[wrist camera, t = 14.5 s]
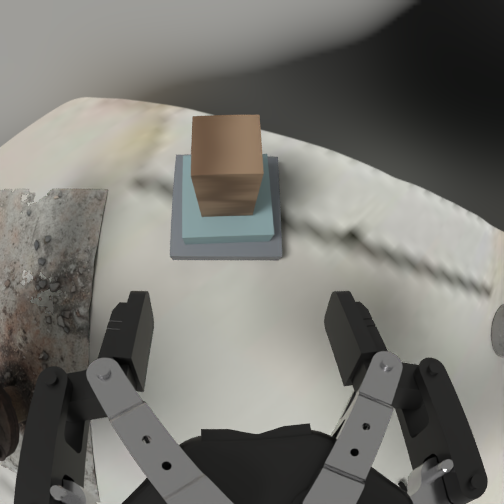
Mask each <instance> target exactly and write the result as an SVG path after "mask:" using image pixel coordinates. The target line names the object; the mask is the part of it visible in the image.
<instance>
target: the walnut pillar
mask: <svg viewBox="0 0 504 504" xmlns="http://www.w3.org/2000/svg"><path fill="white" fill-rule="evenodd" d="M263 174H264V171H263V157H262V143H261V130H260V118H259V115H214V116H193V121H192V146H191V179H192V183H193V186H194V190H195V194H196V198H197V201H198V205H199V209H200V212H201V216H202V217H215V216H247V215H253V212H254V208H255V204H256V200H257V197H258V193H259V189H260V185H261V182H262V178H263Z"/></svg>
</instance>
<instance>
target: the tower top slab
mask: <svg viewBox="0 0 504 504" xmlns="http://www.w3.org/2000/svg"><path fill="white" fill-rule="evenodd" d="M262 157H263V171H264V174H263V178H262V182H261V185H260V189H259V193H258V197H257V200H256V204H255V208H254V212H253V215H247V216H215V217H202V216H201V212H200V209H199V205H198V201H197V198H196V194H195V190H194V186H193V183H192V179H191V155H187V156H183V180H182V238H183V240H184V243H185V245H186V244H211V243H237V242H265V241H270V240H271V238H272V237H273V235H274V226H273V214H272V202H271V191H270V180H269V169H268V158H267V154H262Z"/></svg>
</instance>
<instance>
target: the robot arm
mask: <svg viewBox="0 0 504 504" xmlns="http://www.w3.org/2000/svg"><path fill="white" fill-rule="evenodd" d="M324 324H325V329H326V332H327V335H328V338H329V341H330V344H331V347H332V350H333V353H334V357H335V360H336V363H337V366H338V369H339V372H340V375H341V378H342V381H343V385H344V386H349V385H353V388H354V391H353V393H352V395H351V397H350V399H349V401H348V403H347V405H346V407H345V409H344V411H343V413H342V415H341V417H340V419H339V421H338V423H337V425H336V427H335V429H334V430H333V432H332V434H331V435H327V434H325V433H322V432H319V431H315V430H311V428H310V423H309V424H301V425H291V426H283V427H280V428H277V429H274V430H271V431H267V432H264V433H261V434H251V433H246V432H240V431H235V430H230V429H201V436H198V437H194V438H191V439H189V440H187V441H185V442H183V443H181V444H180V445H178V444H177V443H176V441H175V440H174V439H173V438H172V436H171V435H170V434H169V433H168V431H167V430H166V429H165V427H164V426H163V425H162V423H161V422H160V421H159V419H158V418H157V417H156V415H155V414H154V413H153V411H152V410H151V409H150V407H149V406H148V405H147V403H146V402H145V401H143V400H142V399H141V398H140V396H139V395H138V393H137V392H136V391H141V392H144V386H145V379H146V372H147V366H148V359H149V353H150V347H151V341H152V335H153V329H154V318H153V313H152V307H151V302H150V297H149V293H148V291H131V292H130V295H129V298H128V301H127V303H121V302H120V303H119V304H118V305H117V306H116V307H115V308H114V309H113V311H112V314H111V317H110V322H109V323H108V326H107V330H106V333H105V336H104V340H103V343H102V346H101V350H100V353H99V357H98V359H97V360H95V361H93V362H92V363H91V364H90V365H89V367H88V368H87V369H86V370H83V371H78V372H72V373H67V374H66V372H65V371H64V370H63V369H62V368H60V367H57V366H51V367H48V368H46V369H44V370H43V371H42V372H41V373H40V374H39V376H38V378H37V382H36V385H35V389H34V393H33V397H32V400H31V404H30V408H29V413H28V417H27V421H26V426H25V430H24V435H23V440H22V446H21V451H20V457H19V464H18V471H17V478H16V486H15V496H14V504H97V503H96V500H95V498H94V496H93V495H92V494H91V493H90V492H89V491H87V490H86V489H84V476H85V462H86V451H87V441H88V433H89V425H90V420H92V419H98V418H103V417H108V418H109V420H110V422H111V424H112V426H113V427H114V429H115V431H116V432H117V434H118V435H119V437H120V439H121V440H122V442H123V443H124V445H125V446H126V448H127V449H128V451H129V452H130V454H131V455H132V457H133V458H134V460H135V461H136V463H137V464H138V465H139V467H140V468H141V470H142V471H143V472H144V474H145V475H146V476H147V478H146V479H145V480H144V481H143V483H142V484H141V485H140V486H139V487H138V488H137V489H136V490H135V491H134V492H133V493H132V494H131V495H130V496H129V497H128V498H127V499H126V500H125V501H124V502H123V503H122V504H466V503H468V502H470V501H472V500H475V499H477V498H479V497H480V496H481V495H482V494H483V493H484V492H485V490H486V488H487V475H486V472H485V469H484V466H483V463H482V460H481V457H480V454H479V451H478V448H477V445H476V442H475V439H474V437H473V434H472V431H471V429H470V426H469V423H468V421H467V418H466V416H465V413H464V411H463V408H462V406H461V403H460V401H459V399H458V396H457V394H456V392H455V389H454V387H453V385H452V382H451V380H450V378H449V376H448V374H447V371H446V369H445V367H444V366H443V364H442V363H441V362H440V361H438V360H437V359H434V358H425V359H423V360H422V361H421V362H420V364H419V365H415V364H408V363H402V362H401V360H400V359H399V358H398V357H397V356H396V355H395V354H393V353H391V352H388V351H387V349H386V347H385V344H384V342H383V340H382V338H381V336H380V334H379V332H378V329H377V327H375V323H374V321H373V320H372V317H371V315H370V313H369V311H368V309H367V308H366V307H365V306H364V305H363V304H362V303H361V302H355V300H354V298H353V296H352V294H351V292H350V291H334V292H333V293H332V294H331V297H330V301H329V304H328V307H327V311H326V314H325V319H324ZM491 335H492V345H493V348H494V351H495V352H496V354H497V355H498V356H500V357H504V305H502V306H501V307H500V308H499V309H498V311H497V312H496V315H495V317H494V320H493V325H492V334H491ZM393 408H395V409H396V413H397V416H398V419H399V422H400V426H401V429H402V432H403V436H404V439H405V443H406V446H407V450H408V454H409V457H410V461H411V465H412V469H413V471H412V472H411V473H410V475H409V477H408V485H407V489H408V491H407V493H406V492H405V491H404V490H403V489H401V488H400V487H398V486H397V485H395V484H394V483H393V482H391V481H390V480H389V479H387V478H386V477H384V476H383V475H382V474H380V473H379V472H378V471H376V470H375V469H374V468H372V467H371V466H372V464H373V461H374V459H375V457H376V454H377V452H378V449H379V447H380V444H381V442H382V439H383V437H384V434H385V431H386V429H387V426H388V423H389V420H390V418H391V415H392V412H393Z"/></svg>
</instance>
